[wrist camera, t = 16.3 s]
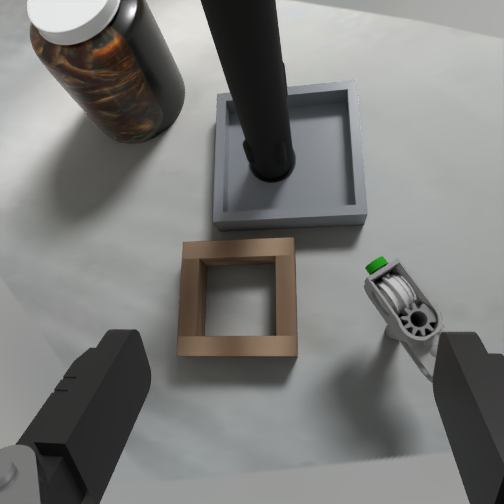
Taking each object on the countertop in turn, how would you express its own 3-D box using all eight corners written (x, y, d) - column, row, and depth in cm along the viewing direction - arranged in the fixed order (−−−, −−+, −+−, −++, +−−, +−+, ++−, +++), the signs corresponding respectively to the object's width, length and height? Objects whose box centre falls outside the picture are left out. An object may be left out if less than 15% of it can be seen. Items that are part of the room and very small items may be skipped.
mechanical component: (414, 389, 36) (449, 396, 26) (348, 293, 39) (358, 269, 30) (442, 371, 36) (487, 372, 27) (374, 277, 39) (392, 248, 30)
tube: (185, -25, 19) (292, -77, 19) (148, -95, 21) (246, -144, 21) (259, 194, 43) (307, 171, 42) (239, 152, 44) (285, 131, 44)
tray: (354, 98, 45) (356, 80, 42) (363, 224, 41) (367, 214, 38) (223, 110, 47) (217, 93, 44) (219, 231, 43) (212, 221, 40)
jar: (196, 123, 47) (145, 17, 33) (105, 156, 48) (16, 67, 34) (173, 48, 51) (117, -76, 37) (88, 80, 52) (2, -29, 37)
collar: (295, 246, 41) (293, 237, 38) (297, 356, 38) (296, 355, 35) (191, 250, 43) (182, 242, 40) (186, 356, 40) (176, 355, 37)
